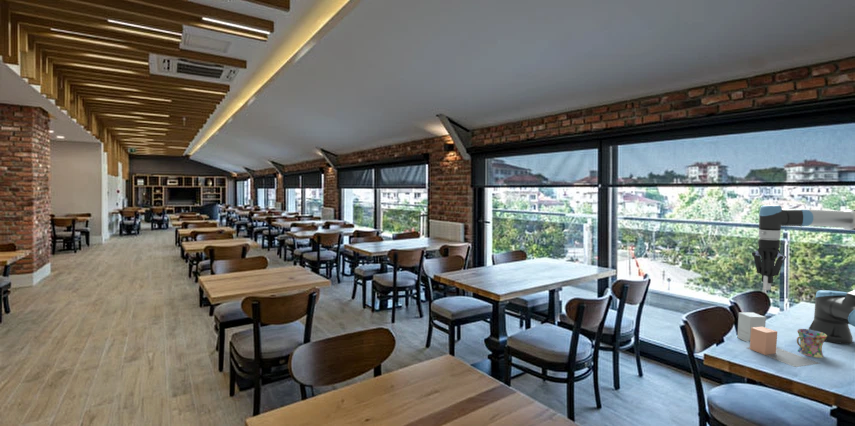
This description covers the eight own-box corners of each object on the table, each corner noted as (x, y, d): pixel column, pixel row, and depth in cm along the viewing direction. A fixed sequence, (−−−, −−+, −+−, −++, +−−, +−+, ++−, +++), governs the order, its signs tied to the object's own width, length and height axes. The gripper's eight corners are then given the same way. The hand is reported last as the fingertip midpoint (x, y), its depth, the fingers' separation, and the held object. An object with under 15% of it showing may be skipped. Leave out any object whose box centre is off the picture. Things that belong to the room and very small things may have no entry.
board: (769, 348, 178) (769, 344, 178) (820, 366, 159) (820, 363, 159) (745, 351, 174) (745, 347, 174) (794, 370, 156) (795, 366, 156)
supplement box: (764, 343, 183) (766, 317, 182) (748, 343, 183) (750, 317, 182) (752, 337, 190) (753, 312, 189) (736, 337, 190) (738, 311, 189)
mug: (806, 351, 174) (808, 328, 173) (831, 360, 165) (833, 336, 164) (784, 353, 172) (786, 329, 171) (808, 362, 163) (810, 337, 162)
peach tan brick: (760, 347, 174) (761, 326, 174) (775, 353, 168) (777, 331, 168) (749, 348, 173) (751, 327, 172) (764, 354, 167) (766, 332, 166)
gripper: (748, 237, 185) (745, 286, 187) (779, 241, 173) (776, 294, 174) (759, 236, 187) (757, 285, 189) (791, 240, 175) (788, 292, 176)
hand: (766, 289), depth 181 cm, fingers closed
